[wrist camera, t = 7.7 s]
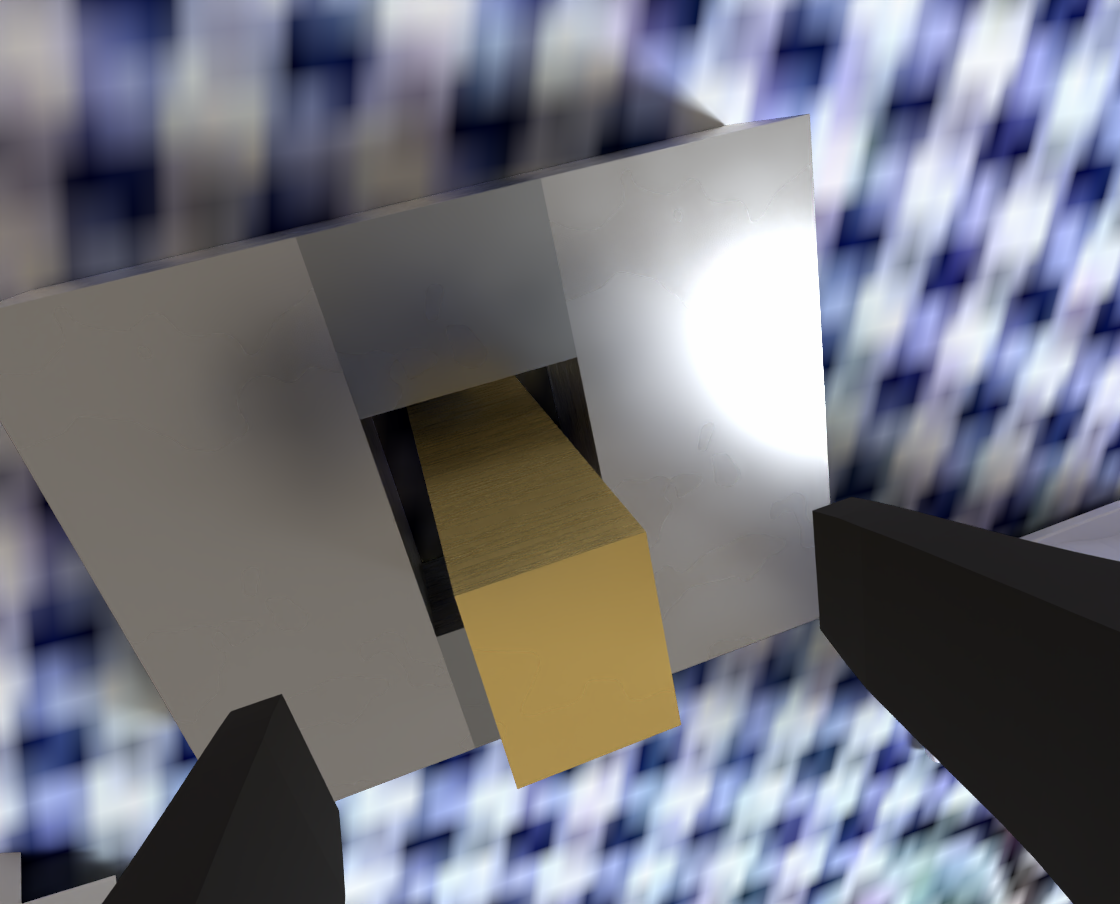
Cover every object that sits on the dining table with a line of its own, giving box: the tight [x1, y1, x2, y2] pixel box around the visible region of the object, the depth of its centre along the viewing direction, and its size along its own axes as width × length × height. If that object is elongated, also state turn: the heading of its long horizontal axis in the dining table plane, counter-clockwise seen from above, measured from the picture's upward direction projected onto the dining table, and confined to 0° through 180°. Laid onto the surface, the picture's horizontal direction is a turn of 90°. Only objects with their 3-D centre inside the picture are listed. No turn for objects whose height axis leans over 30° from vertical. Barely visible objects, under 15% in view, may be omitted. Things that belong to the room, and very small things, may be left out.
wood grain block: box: [406, 375, 681, 789], centre depth 13 cm, size 2×3×8 cm
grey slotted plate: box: [0, 114, 830, 801], centre depth 15 cm, size 14×11×3 cm
